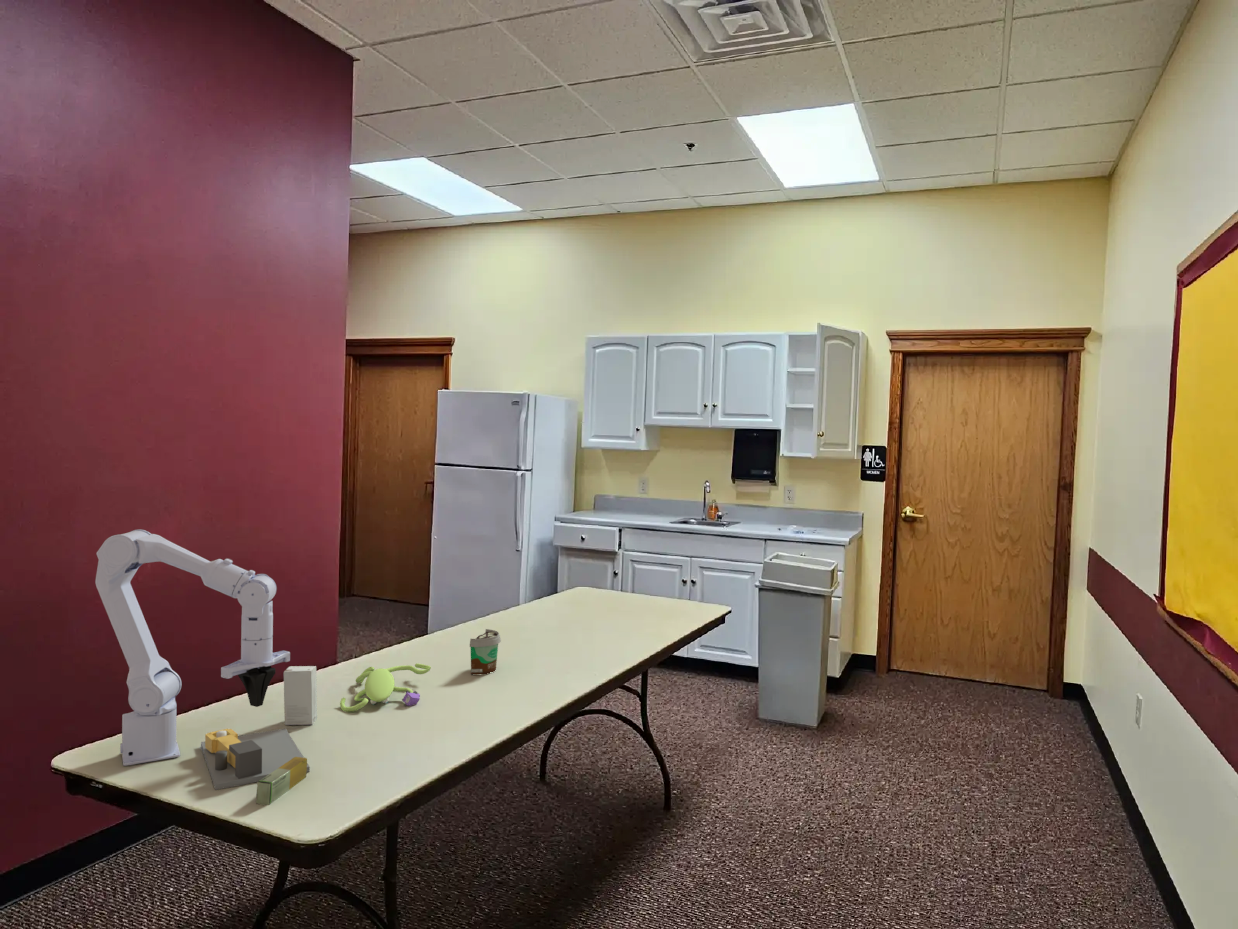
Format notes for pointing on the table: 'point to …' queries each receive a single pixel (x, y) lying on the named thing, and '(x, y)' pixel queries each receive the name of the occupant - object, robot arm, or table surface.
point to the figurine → (384, 686)
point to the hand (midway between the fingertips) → (256, 705)
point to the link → (222, 743)
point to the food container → (484, 652)
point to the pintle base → (250, 758)
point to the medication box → (281, 780)
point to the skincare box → (300, 695)
